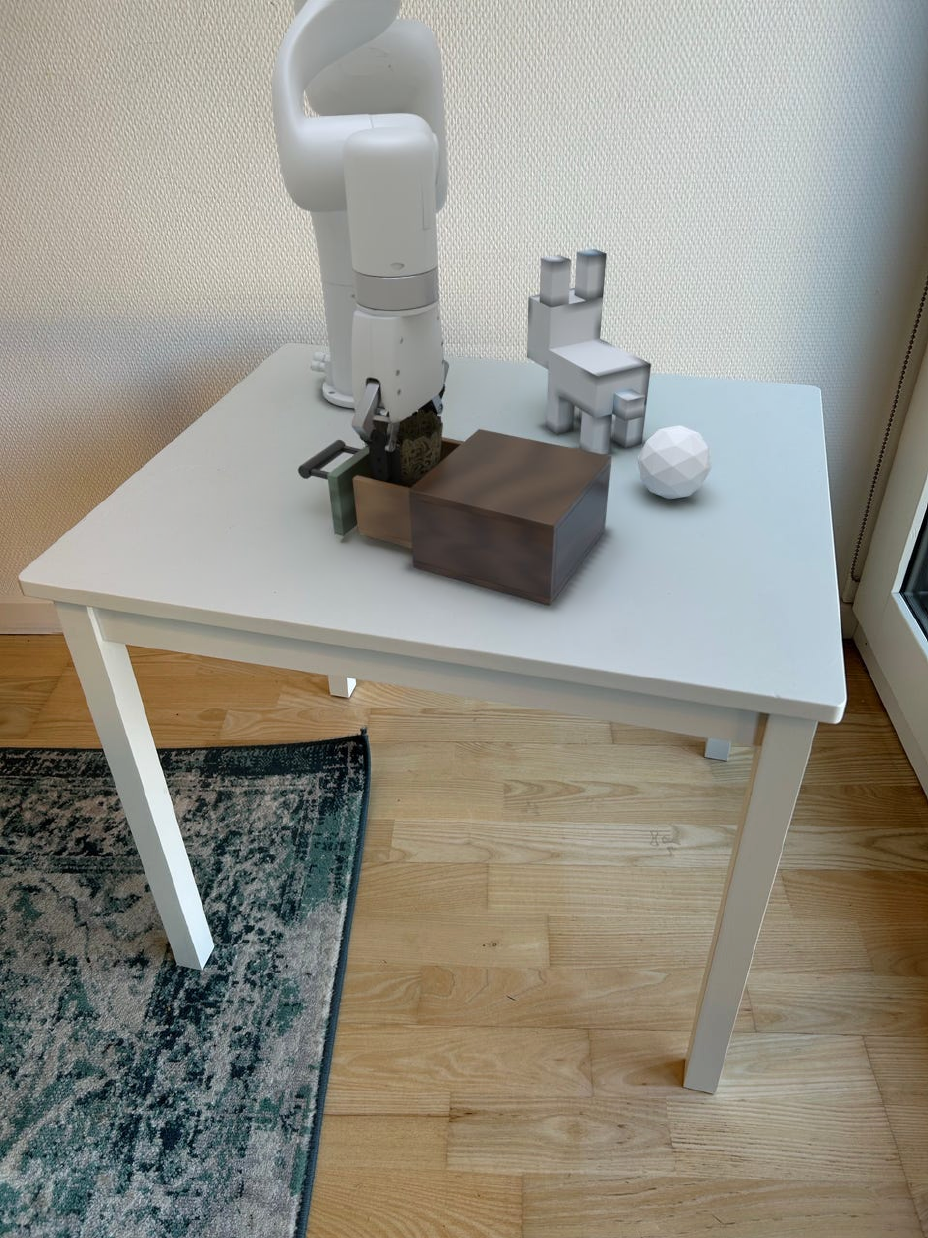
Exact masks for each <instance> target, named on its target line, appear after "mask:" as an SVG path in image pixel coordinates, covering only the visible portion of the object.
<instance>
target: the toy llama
mask: <svg viewBox="0 0 928 1238" xmlns="http://www.w3.org/2000/svg"><path fill="white" fill-rule="evenodd" d="M607 256H608V253H606V252H604V251H601V250H599V249H596V248H591V249H590V248H589V249H585V250H579V251H578V250H577V251H576V260H575V261H576V262H575V274H574V275H575V279H574V287H571V271H572V259H571V258H568V257H565V256H563V255H561V254H556V255H551V256H545V257H540V272H539V273H540V276H539V277H540V278H539V294H535V295H530V296H527V300H528V301H527V330H526V333H527V335H526V358H527V359H529V360H531V361H532V362H534V363H536V364H537V365H539V366H541V367H543V368H545V369H546V370H547V371H548V372H547V373H548V374H547V393H546V394H547V395H546V418H545V428H547V429H548V430H549V431H551V432H552V433H554V434H556V435H560V434H564V433H567V432H569V431H574V427H575V409H576V408H577V409H578V419H579V420H580V421H581V423H580V424H581V425H580V440H579V450H584V451H589V452H594V453H599V454H604V455H607V454H609V452H610V442H611V434H612V433H611V432H612V431H611V430H612V421H613V416H614V427H613V437H612V440H613V442H615V443H617V445H620V446H621V447H623V448H625V449H627V448H631V447H634V446H638V445H641V444H643V437H644V429H645V420H646V419H645V418H646V412H647V403H648V396H649V395H648V393H649V387H650V378H651V377H650V376H651V368H652V363H650V362H648V361H646V360H645V359H642V358H640V357H638V356H636V355H634V354H632V353H631V352H628V351H626V350H624V349H622V348H621V347H618V346H616V345H614V344H612V343H611V342H608V341H606V340H604V339H603V338H601V333H602V322H603V321H602V319H603V307H604V295H605V283H606V269H607Z"/></svg>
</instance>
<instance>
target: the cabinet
mask: <svg viewBox="0 0 928 1238" xmlns="http://www.w3.org/2000/svg"><path fill="white" fill-rule="evenodd" d="M611 469H612V455H609V454H599V453H594V452H589V451H584V450H580V448H579V449H578V448H575V447H569V446H565V445H564V446H563V445H561V444H560V445H559V444H554V443H549V442H544V441H541V440H540V441H539V440H535V439H532V438H531V439H530V438H526V437H520V436H516V435H510V434H506V433H501V432H495V431H491V430H486V429H482V428H478V429H477V430H476V431H475V432H474V433H472V434H471V435H470V436H469V437H468V438H466V439H465V440H464V442H463V443H462V444H461V445H460V446H459V447H457V448H456V449H455V450H454V451H453V452H452V453H451V454H449V455H448V456H447V457H446V458H445V459H444V460H442V461H441V462H440V463H439V464H438V465H437V466H435V467H434V468H433V469H432V470H431V471H430V472H429V473H427V474H426V475H425V476H424V477H423V478H422V479H420V480H419V481H418V482H417V483H416V484H415V485H413V486H412V487H411V488H410V489H409V490H408V493H409V509H410V525H411V540H412V548H411V554H412V567H413V568H415V569H420V570H422V571H426V572H430V573H433V574H437V575H441V576H444V577H448V578H451V579H454V580H458V581H461V582H465V583H469V584H472V585H476V586H479V587H482V588H485V589H486V588H487V589H489V590H494V591H497V592H501V593H504V594H507V595H511V596H515V597H518V598H523V599H525V600H529V601H532V602H536V603H540V604H542V605H546V606H551V605H552V603H553V602H554V600H555V599H556V598H557V596H558V595H559V594H560V593H561V591H562V590H563V588H564V587H565V586H566V584H567V583H568V582H569V580H570V579H571V577H572V576H573V575H574V573H575V572H576V571H577V570H578V568H579V567H580V565H581V564H582V562H583V561H584V560H585V559H586V557H587V556H588V554H589V553H590V552H591V550H592V549H593V548H594V546H595V545H596V544H597V542H598V541H599V540H600V538H601V537H602V535H603V534H604V533H605V530H606V521H607V513H608V511H607V510H608V501H609V491H610V479H611Z"/></svg>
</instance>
